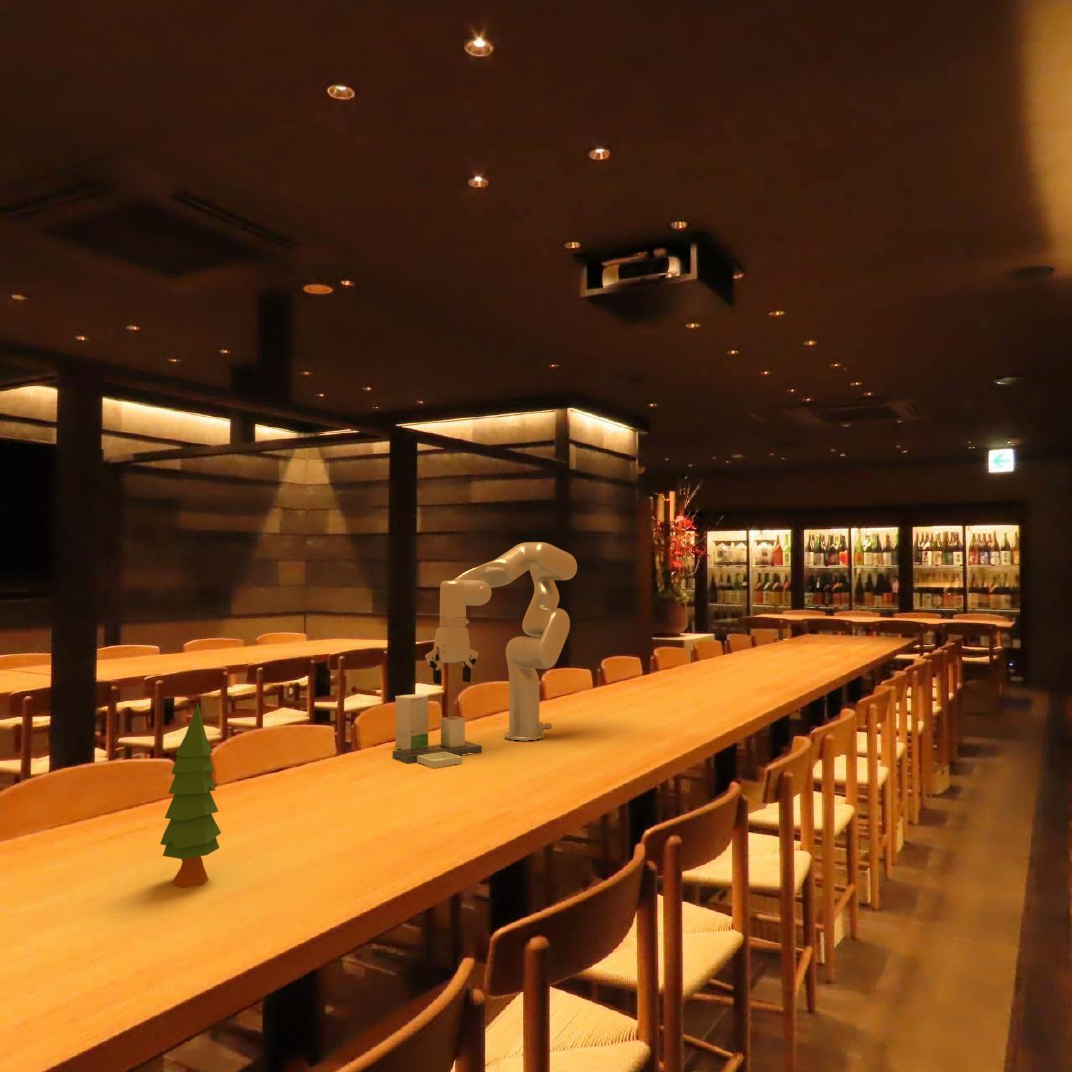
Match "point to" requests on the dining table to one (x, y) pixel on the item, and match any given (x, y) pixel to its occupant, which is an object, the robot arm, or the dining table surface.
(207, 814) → the decorative tree
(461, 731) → the tall white block
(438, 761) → the tray
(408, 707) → the skincare box
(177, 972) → the dining table surface
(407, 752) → the dark grey slotted base
